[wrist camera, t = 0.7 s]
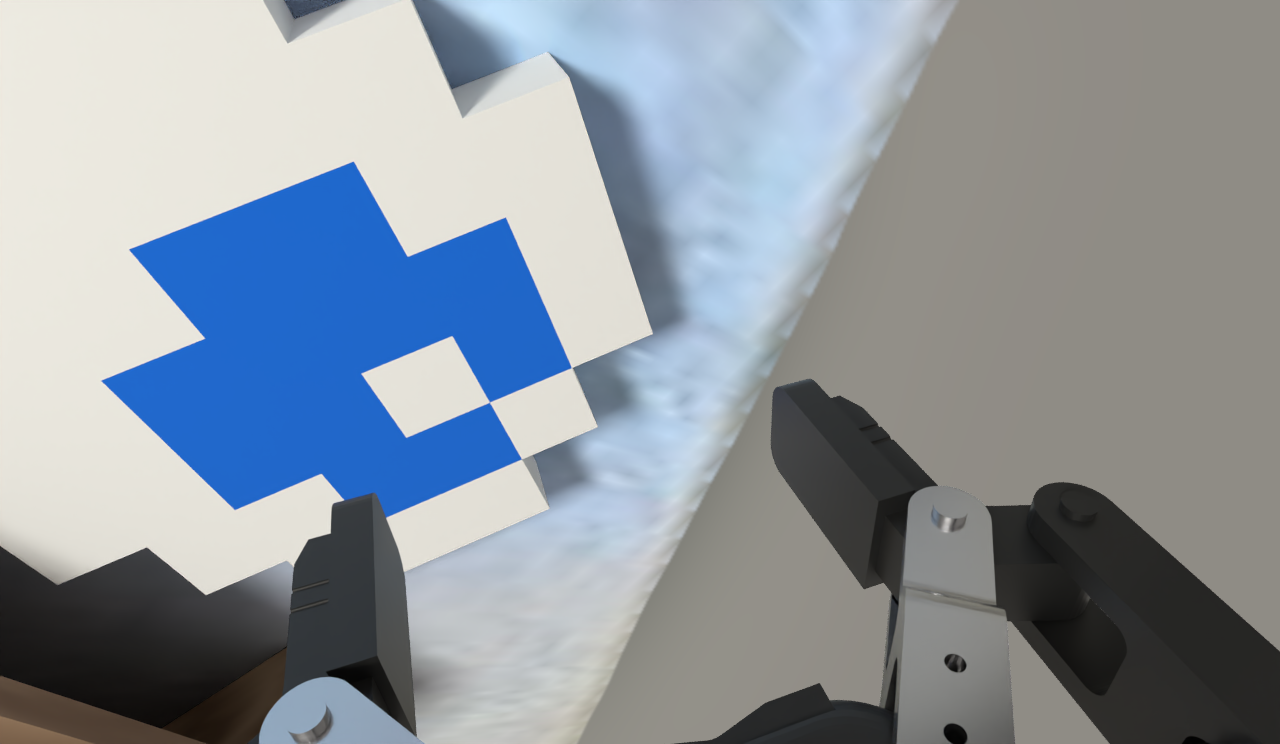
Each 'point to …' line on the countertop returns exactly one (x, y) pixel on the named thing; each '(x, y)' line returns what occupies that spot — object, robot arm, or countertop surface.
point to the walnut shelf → (101, 740)
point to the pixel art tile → (284, 282)
